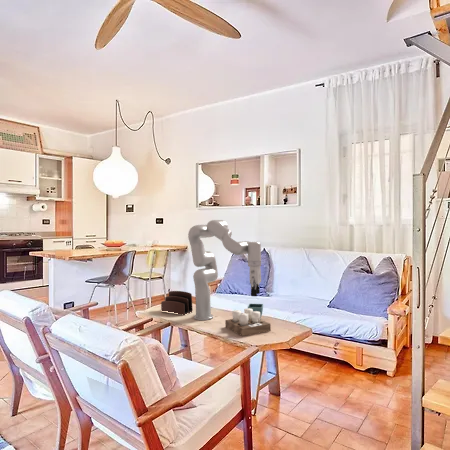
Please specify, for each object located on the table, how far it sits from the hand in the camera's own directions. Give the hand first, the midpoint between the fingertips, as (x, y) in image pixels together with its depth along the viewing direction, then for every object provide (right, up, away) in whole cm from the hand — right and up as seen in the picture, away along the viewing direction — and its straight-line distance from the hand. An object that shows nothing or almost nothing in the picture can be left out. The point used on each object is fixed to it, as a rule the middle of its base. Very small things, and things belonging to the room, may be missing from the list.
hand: (255, 294), depth 198 cm
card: (-1, -16, -6) cm, 17 cm away
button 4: (0, -16, 0) cm, 16 cm away
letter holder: (-51, -21, +42) cm, 69 cm away
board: (-4, -20, +1) cm, 20 cm away
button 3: (-3, -16, +7) cm, 18 cm away
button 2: (-7, -16, -4) cm, 18 cm away
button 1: (-10, -17, +3) cm, 20 cm away
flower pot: (+2, -20, +19) cm, 27 cm away
